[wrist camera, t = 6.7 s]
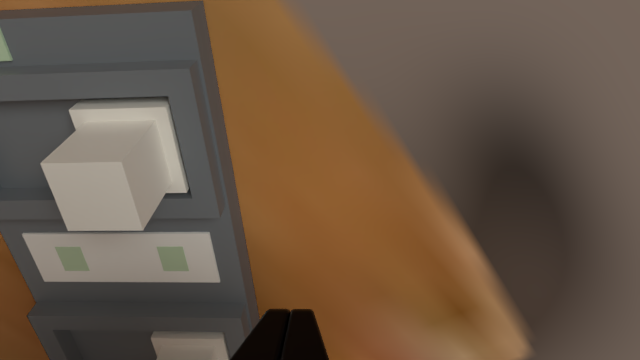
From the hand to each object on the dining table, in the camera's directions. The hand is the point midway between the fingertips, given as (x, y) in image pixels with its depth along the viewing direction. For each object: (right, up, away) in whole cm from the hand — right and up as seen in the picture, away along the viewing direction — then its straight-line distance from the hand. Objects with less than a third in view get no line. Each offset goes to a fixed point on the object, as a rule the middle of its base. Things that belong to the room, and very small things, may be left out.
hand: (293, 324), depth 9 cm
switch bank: (-7, 0, +11) cm, 13 cm away
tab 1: (-5, +4, +7) cm, 10 cm away
